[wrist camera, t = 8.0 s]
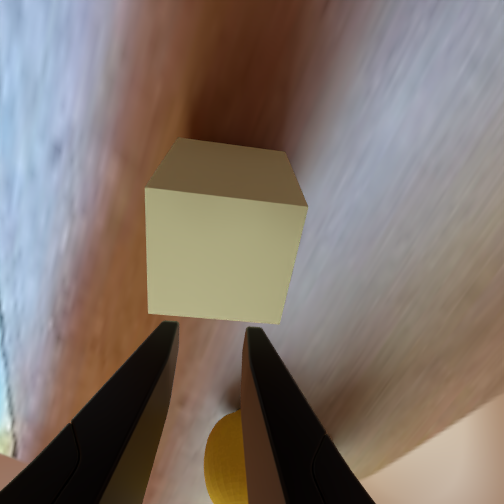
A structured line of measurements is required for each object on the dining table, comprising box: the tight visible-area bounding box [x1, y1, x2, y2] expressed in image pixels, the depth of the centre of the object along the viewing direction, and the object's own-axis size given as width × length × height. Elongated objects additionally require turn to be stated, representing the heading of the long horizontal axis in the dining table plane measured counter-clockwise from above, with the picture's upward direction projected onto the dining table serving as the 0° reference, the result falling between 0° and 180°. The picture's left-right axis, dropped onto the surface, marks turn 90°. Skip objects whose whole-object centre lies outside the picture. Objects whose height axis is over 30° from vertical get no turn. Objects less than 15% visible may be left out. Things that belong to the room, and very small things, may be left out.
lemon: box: [204, 409, 248, 504], centre depth 26 cm, size 6×6×8 cm
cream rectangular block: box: [145, 137, 308, 324], centre depth 15 cm, size 5×5×7 cm
